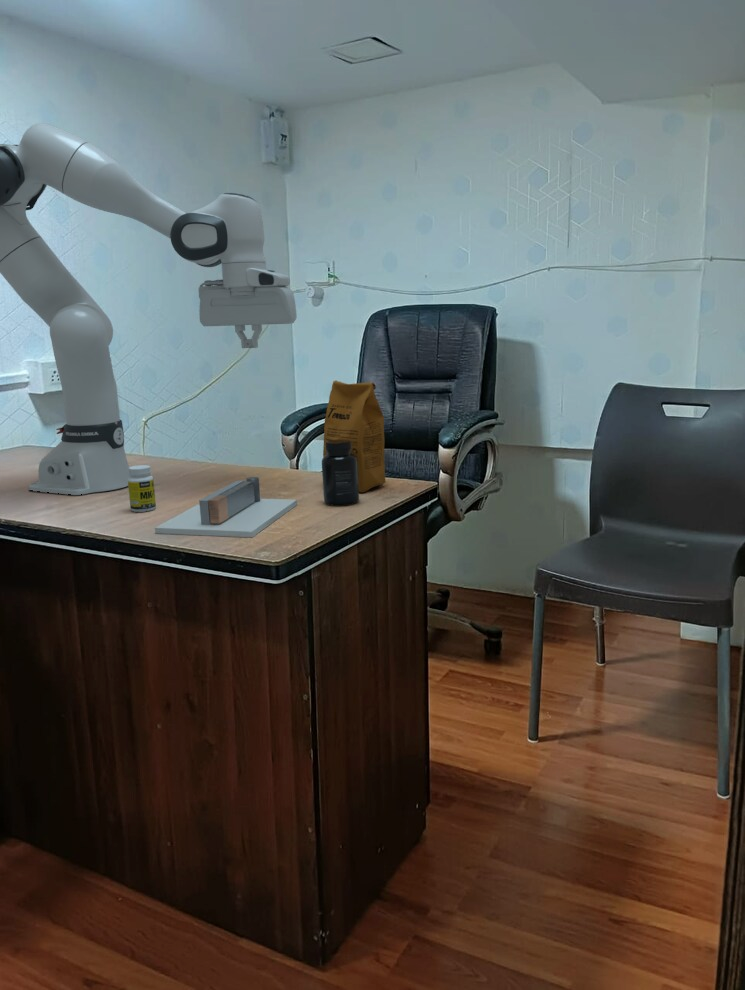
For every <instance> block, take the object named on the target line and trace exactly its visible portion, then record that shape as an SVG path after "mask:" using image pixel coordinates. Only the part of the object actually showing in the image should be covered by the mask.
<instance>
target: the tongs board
mask: <svg viewBox="0 0 745 990" xmlns="http://www.w3.org/2000/svg"><path fill="white" fill-rule="evenodd" d="M245 479H246V480H235V481H233V482H231V483H230V484H227V485H225V486H224V487H222V488H220V489H218V490H216V491H214V492H212V493H211V494H209V495H207V496H206V497H203V498H201V499H199V501H198V502H199V503H198V504H195V505H193V507H191V508H189V509H187V510H185V511H183V512H181V513H180V514H178V515H175V516H174V517H172V518H171V519H168V520H166V521H165V522H163V523H161V524H159V525H157V526H155V527H154V533H155V534H158V535H159V534H161V535H162V534H165V535H190V536H208V537H210V536H211V537H231V538H232V537H233V538H254V537H255V536H257V534H259V533H261V532H262V531H263V530H265V529H266V528H267V527H268V526H270V525H271V524H273V523H275V522H276V521H277V520H278V519H280V518H281V517H282V516H284V515H286V513H288V512H290V510H292V509H293V508H295V507H297V506H298V500H297V499H289V498H285V499H284V498H281V499H280V498H261V492H260V491H261V489H260V478H259V477H258V476H251V477H250V476H249V477H247V478H245ZM245 481H253V483H254V497H255V502H253V503H252V504H250V505H249V506H247V507H245V508H244V509H242V510H241V511H239V512H237V513H236V514H234V515H232V516H231V517H229V518H228V519H226V520H225V521H223V522H221V523H220V524H218V523H211V521H210V509H209V500H210V499H212V498H214V497H216V496H217V495H221V494H222V493H224V492H226V491H228V490H230V489H232V488H233V487H235V486H237V485H239V484H241V483H243V482H245Z"/></svg>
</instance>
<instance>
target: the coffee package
mask: <svg viewBox="0 0 745 990" xmlns="http://www.w3.org/2000/svg"><path fill="white" fill-rule="evenodd" d="M376 389H377V386H376V384H375V383H374V382H373V381H372V382H359V383H345V382H342V381H338V380H333V382H332V386H331V390H330V393H329V398H328V402H327V408H326V413H325V419H324V424H323V425H324V426H323V430H324V431H323V432H324V433H323V449H322V451H323V453H322V455H323V457H324V456H325V455H327V452H326V442H327V441H330V440H339V439H345V440H350V441H351V451H350V453H352V454H353V455H355V457H356V458H357V470H358V489H359V493H366V492H367V491H369V490H371V489H372V488H375V487H379V486H382V485H384V484H385V483H386V473H385V472H386V466H385V465H386V464H385V454H386V453H385V443H386V441H385V417H384V415H383V412H382V409H381V407H380V403H379V401H378V399H377V397H376V393H375V390H376ZM323 457H322V458H323Z"/></svg>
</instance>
